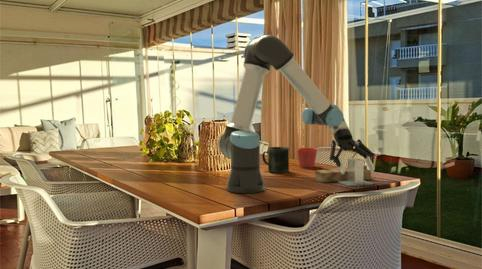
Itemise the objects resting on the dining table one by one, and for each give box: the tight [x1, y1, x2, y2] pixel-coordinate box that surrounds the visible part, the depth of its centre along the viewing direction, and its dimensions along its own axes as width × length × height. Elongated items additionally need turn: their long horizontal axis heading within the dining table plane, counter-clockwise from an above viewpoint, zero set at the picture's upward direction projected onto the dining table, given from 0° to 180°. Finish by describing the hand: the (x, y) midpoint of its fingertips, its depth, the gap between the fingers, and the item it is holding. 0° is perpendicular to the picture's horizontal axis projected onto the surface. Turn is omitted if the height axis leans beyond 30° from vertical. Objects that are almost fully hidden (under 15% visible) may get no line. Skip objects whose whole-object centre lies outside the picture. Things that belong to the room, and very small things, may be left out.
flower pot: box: [296, 147, 318, 168], centre depth 223 cm, size 11×11×10 cm
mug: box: [261, 146, 290, 174], centre depth 209 cm, size 11×15×12 cm
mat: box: [337, 179, 374, 187], centre depth 175 cm, size 12×9×1 cm
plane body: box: [314, 164, 372, 183], centre depth 186 cm, size 24×7×6 cm, turn 104°
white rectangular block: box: [347, 157, 365, 184], centre depth 175 cm, size 4×6×10 cm, turn 14°
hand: (358, 171), depth 173 cm, fingers open, 13 cm apart
